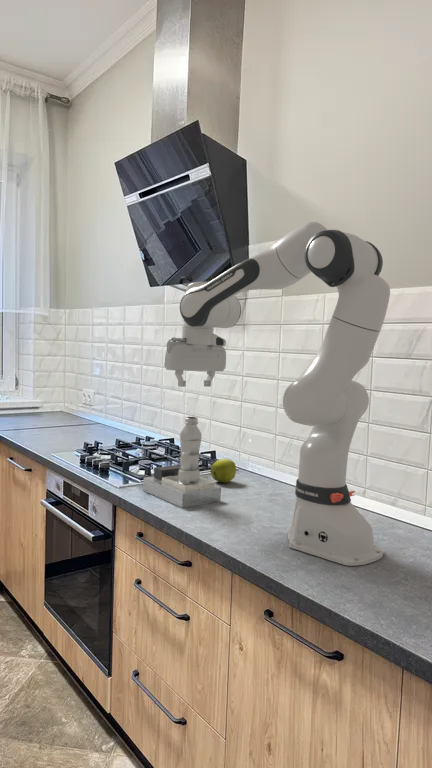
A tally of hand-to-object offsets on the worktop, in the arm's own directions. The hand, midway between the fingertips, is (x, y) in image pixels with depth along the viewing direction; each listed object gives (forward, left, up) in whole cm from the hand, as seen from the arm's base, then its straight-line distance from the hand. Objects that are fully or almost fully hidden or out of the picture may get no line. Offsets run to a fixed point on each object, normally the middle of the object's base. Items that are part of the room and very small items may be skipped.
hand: (194, 386), depth 155 cm
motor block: (+5, +1, -33) cm, 33 cm away
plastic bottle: (0, +1, -29) cm, 29 cm away
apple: (+9, -21, -33) cm, 41 cm away
